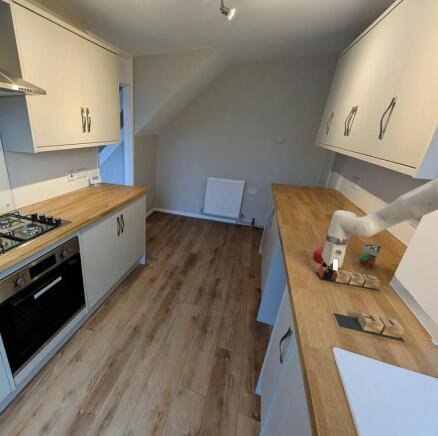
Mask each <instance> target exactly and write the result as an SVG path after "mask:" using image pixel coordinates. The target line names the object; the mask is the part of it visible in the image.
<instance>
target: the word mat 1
mask: <svg viewBox="0 0 438 436" xmlns="http://www.w3.org/2000/svg"><path fill="white" fill-rule="evenodd" d="M315 274H316V276H317V278H318V280H319V281H323V282H328V283H333V284H338V285H345V286H348V287H349V286H350V287H355V288H360V289H365V290H371V291H376V292H380V290H379V289H378V288H377V289H374V288H369V287H364V286H363V285H362V286H358V285H352V284H349V283H348V284H347V283H342V282H336V281H335V280H334V278H333V280H326V279H323V278H321V277H320V275H319V273H318V271H315Z"/></svg>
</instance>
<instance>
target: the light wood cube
mask: <svg viewBox="0 0 438 436" xmlns="http://www.w3.org/2000/svg"><path fill="white" fill-rule="evenodd" d="M361 275H362V276H363V278H364V279H365V280H364V282H363V286H364V287H369V288H374V289H378V287H379V285H380V280H379V279H378V278H377V277H376V276H375V275H370V274H366V273H365V274H364V273H362V274H361Z"/></svg>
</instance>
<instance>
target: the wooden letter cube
mask: <svg viewBox="0 0 438 436" xmlns="http://www.w3.org/2000/svg"><path fill="white" fill-rule="evenodd" d="M347 273H348V274H349V276H350V279H349V281H348V283H349V284H352V285H358V286H362V285H363V282H364V280H365V279H364V278H363V276H362V274H361V273H358V272H352V271H347Z"/></svg>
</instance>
